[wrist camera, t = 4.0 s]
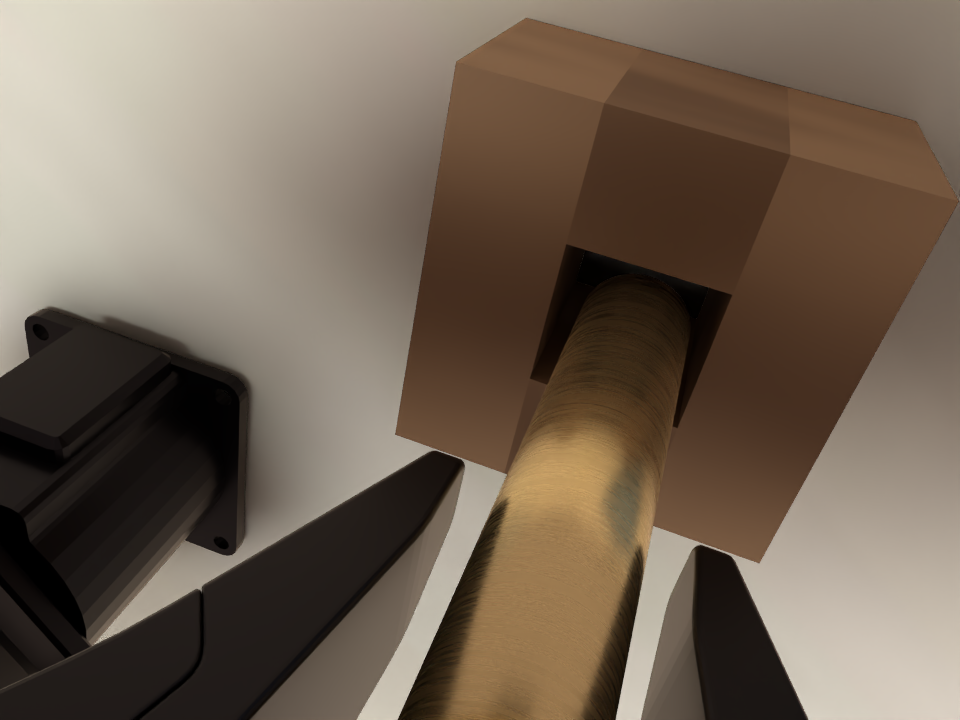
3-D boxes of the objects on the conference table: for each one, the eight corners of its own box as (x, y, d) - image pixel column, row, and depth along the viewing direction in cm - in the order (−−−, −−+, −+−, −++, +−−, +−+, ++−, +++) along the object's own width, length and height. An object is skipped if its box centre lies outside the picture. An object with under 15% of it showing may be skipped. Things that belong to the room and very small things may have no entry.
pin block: (762, 435, 18) (759, 562, 15) (461, 335, 19) (395, 434, 16) (916, 121, 14) (958, 201, 11) (526, 18, 15) (456, 61, 12)
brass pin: (701, 436, 14) (597, 1178, 6) (515, 373, 15) (200, 984, 7) (776, 264, 12) (767, 1016, 4) (560, 200, 13) (194, 761, 5)
